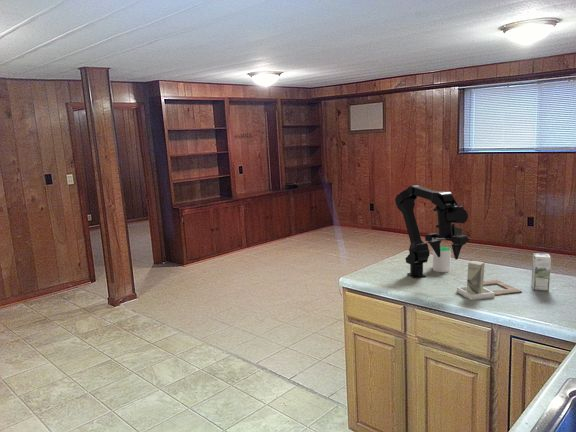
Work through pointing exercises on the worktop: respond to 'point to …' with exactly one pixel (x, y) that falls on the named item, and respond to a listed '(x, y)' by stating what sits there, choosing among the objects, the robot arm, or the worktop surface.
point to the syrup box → (541, 271)
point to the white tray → (484, 295)
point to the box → (475, 277)
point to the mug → (442, 260)
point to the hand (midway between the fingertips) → (447, 258)
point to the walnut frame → (507, 289)
